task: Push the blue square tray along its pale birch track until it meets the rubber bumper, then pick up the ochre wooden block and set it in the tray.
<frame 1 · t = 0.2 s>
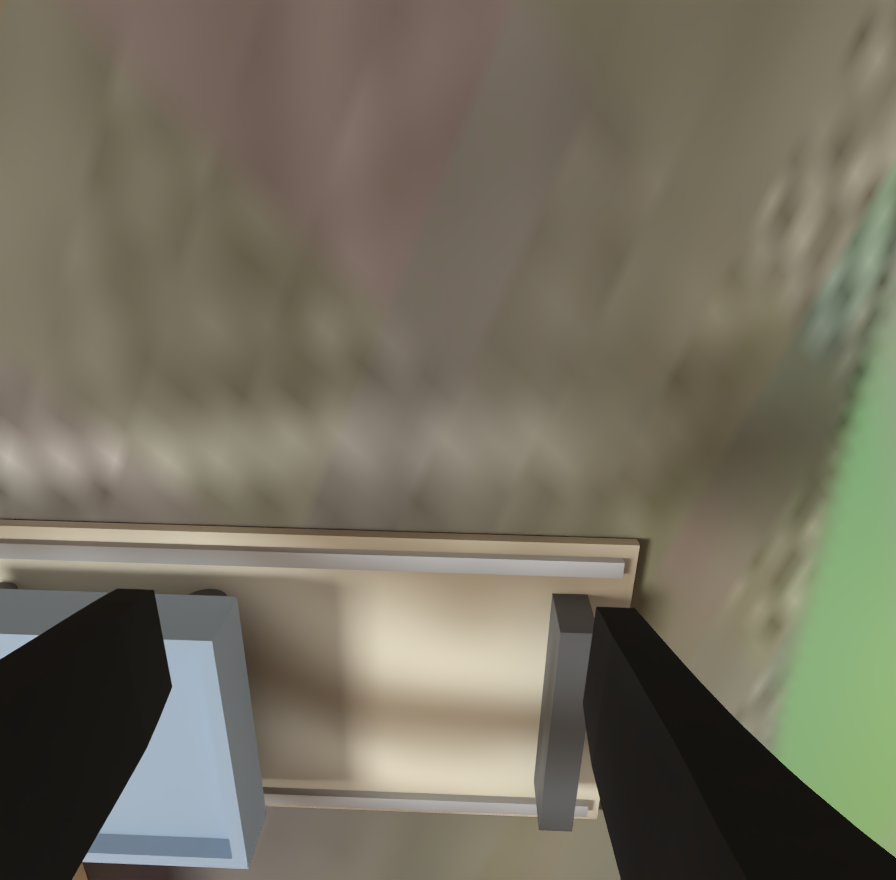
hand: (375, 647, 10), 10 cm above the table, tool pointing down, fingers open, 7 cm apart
blue square tray: (106, 718, 22), point 2 cm above the table, slide at 10.0 cm
cart track: (281, 677, 24), on the table
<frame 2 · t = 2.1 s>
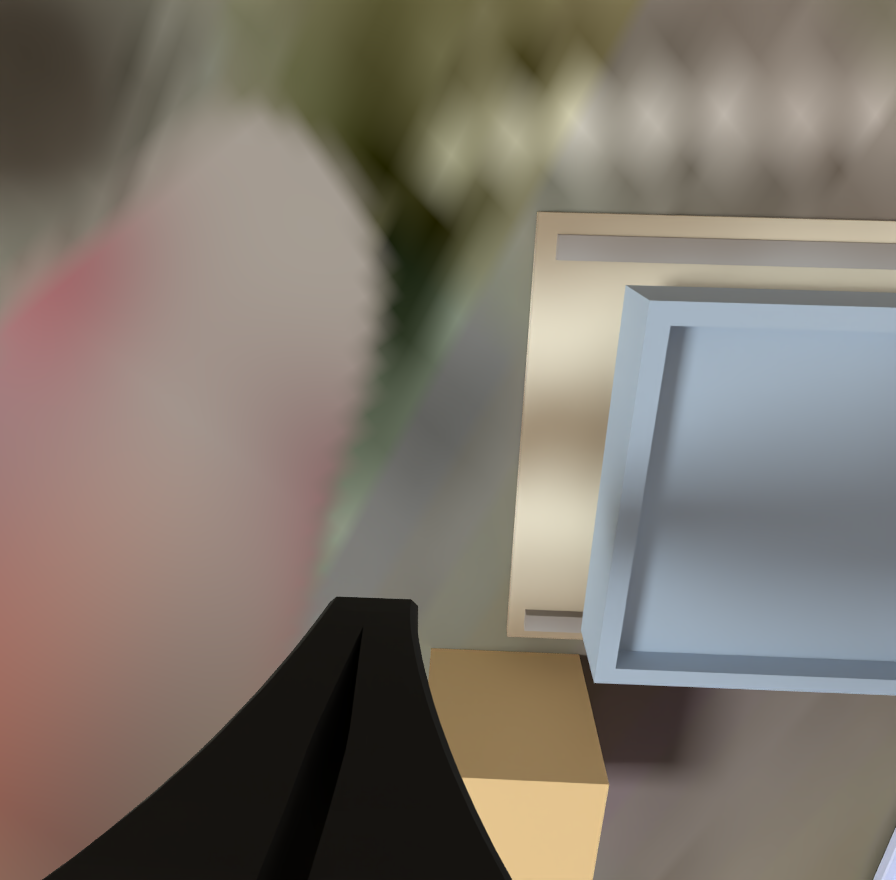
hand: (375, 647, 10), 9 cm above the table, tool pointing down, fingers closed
blue square tray: (798, 491, 16), point 2 cm above the table, slide at 10.0 cm
ochre block: (500, 705, 22), on the table
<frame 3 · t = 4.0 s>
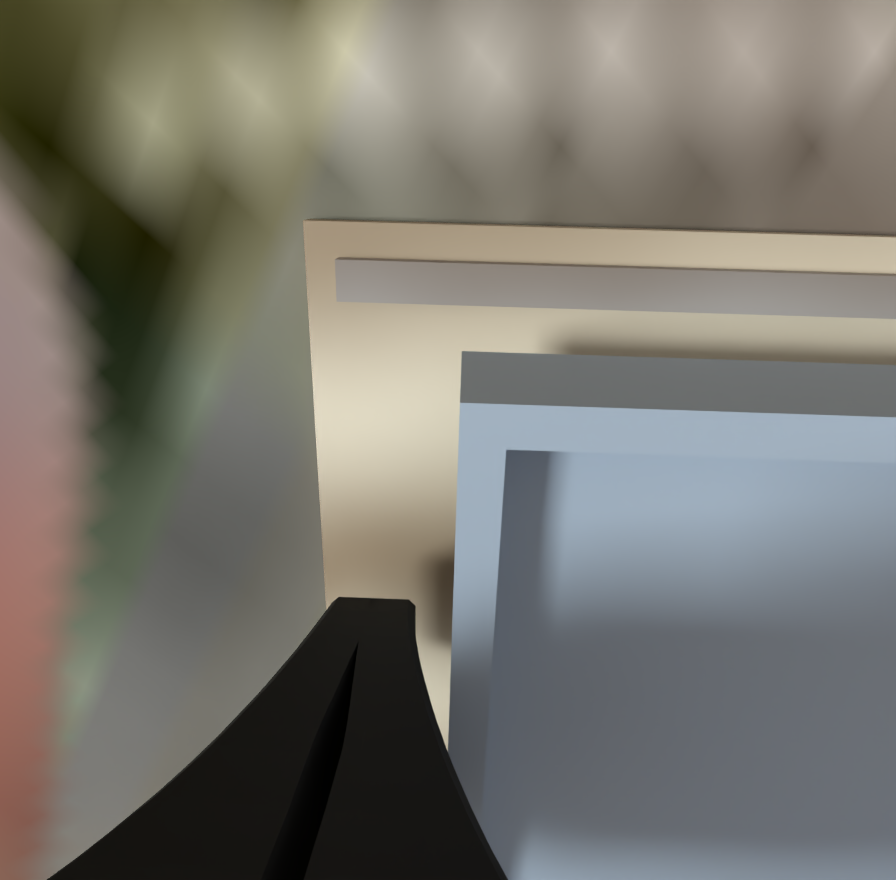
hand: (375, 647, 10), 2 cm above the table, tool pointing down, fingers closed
blue square tray: (770, 681, 10), point 2 cm above the table, slide at 9.6 cm, touching gripper
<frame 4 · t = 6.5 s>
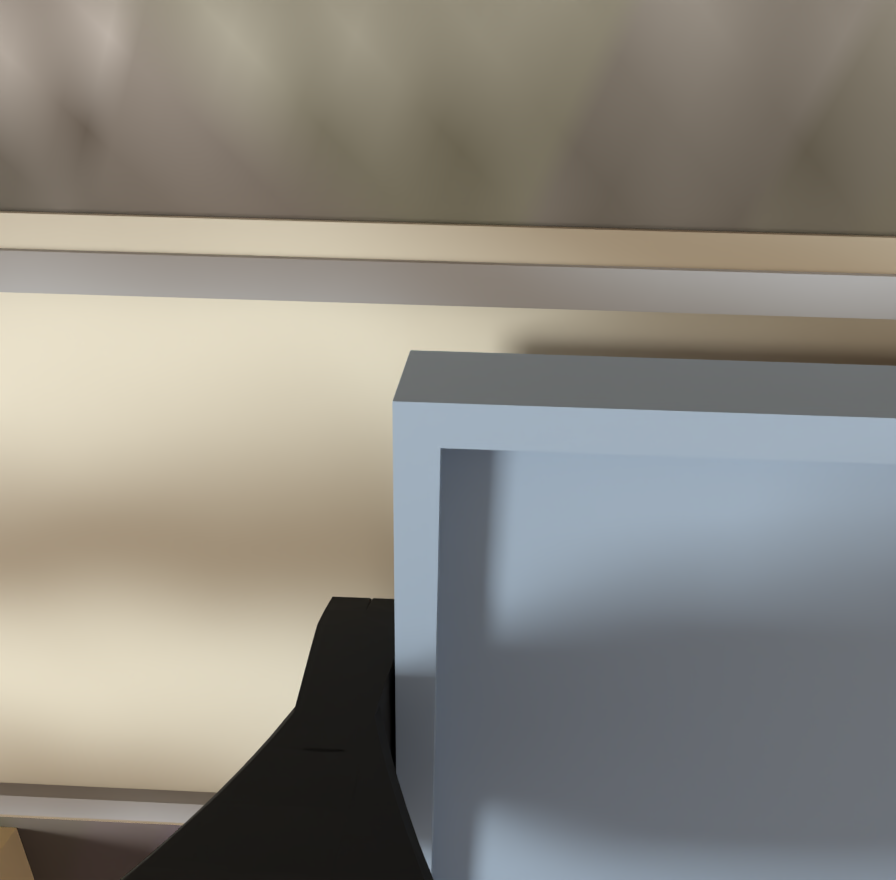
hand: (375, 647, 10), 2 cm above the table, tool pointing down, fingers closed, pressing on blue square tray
blue square tray: (727, 680, 10), point 2 cm above the table, slide at -0.1 cm, touching gripper
cart track: (436, 584, 12), on the table
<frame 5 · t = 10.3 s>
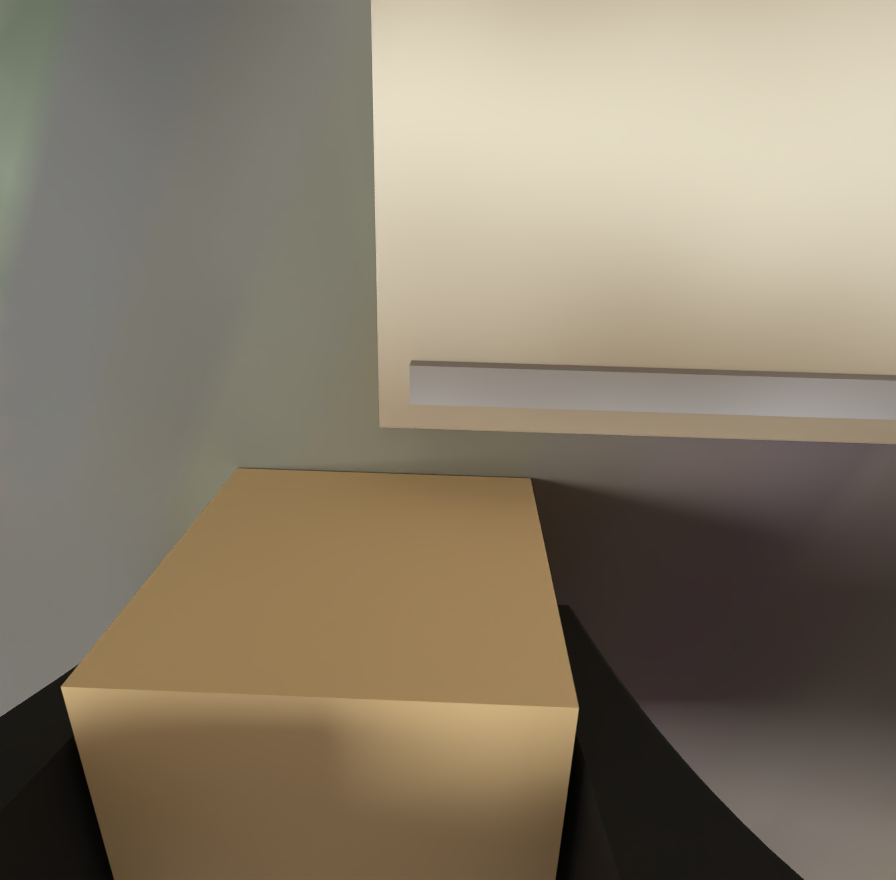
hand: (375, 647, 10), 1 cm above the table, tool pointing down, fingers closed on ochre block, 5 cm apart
ochre block: (385, 594, 12), on the table, touching gripper
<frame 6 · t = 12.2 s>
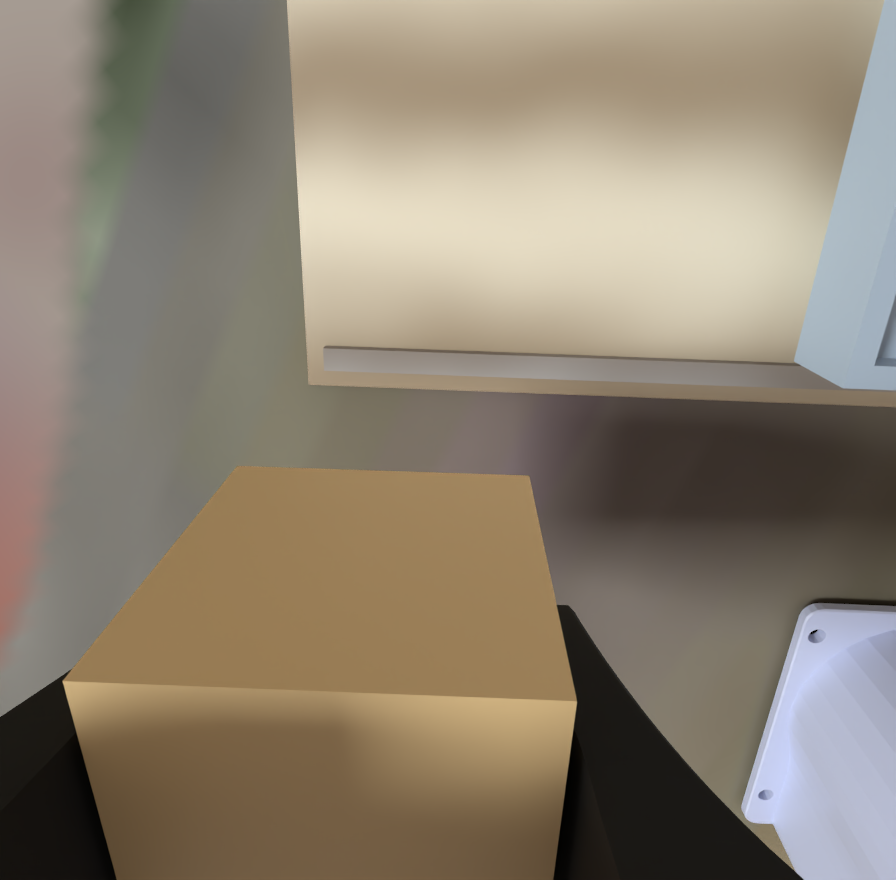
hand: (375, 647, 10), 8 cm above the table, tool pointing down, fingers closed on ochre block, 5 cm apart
ochre block: (384, 592, 12), point 7 cm above the table, touching gripper
cart track: (829, 134, 15), on the table
when the fingers open (6 cm above the table, at t = 14.3 s): ochre block drops 2 cm, resting on blue square tray.
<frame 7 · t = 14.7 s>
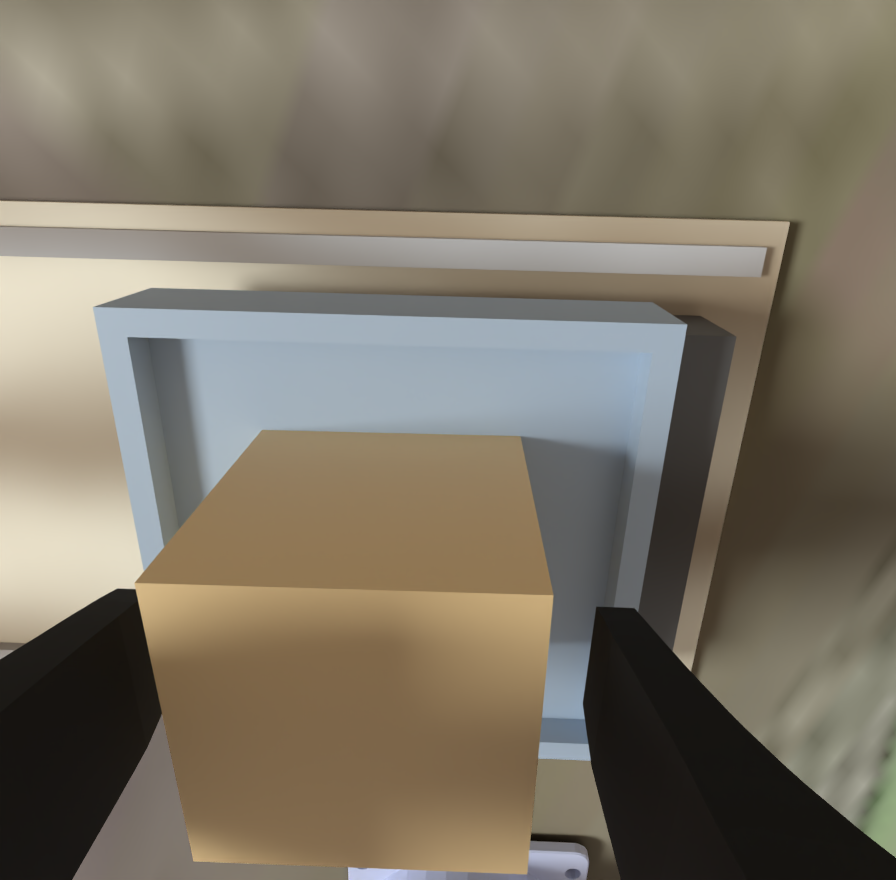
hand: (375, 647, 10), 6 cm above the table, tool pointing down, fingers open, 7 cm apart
blue square tray: (399, 524, 14), point 2 cm above the table, slide at 0.0 cm, touching ochre block
ochre block: (393, 544, 13), point 3 cm above the table, touching blue square tray
cart track: (234, 474, 16), on the table
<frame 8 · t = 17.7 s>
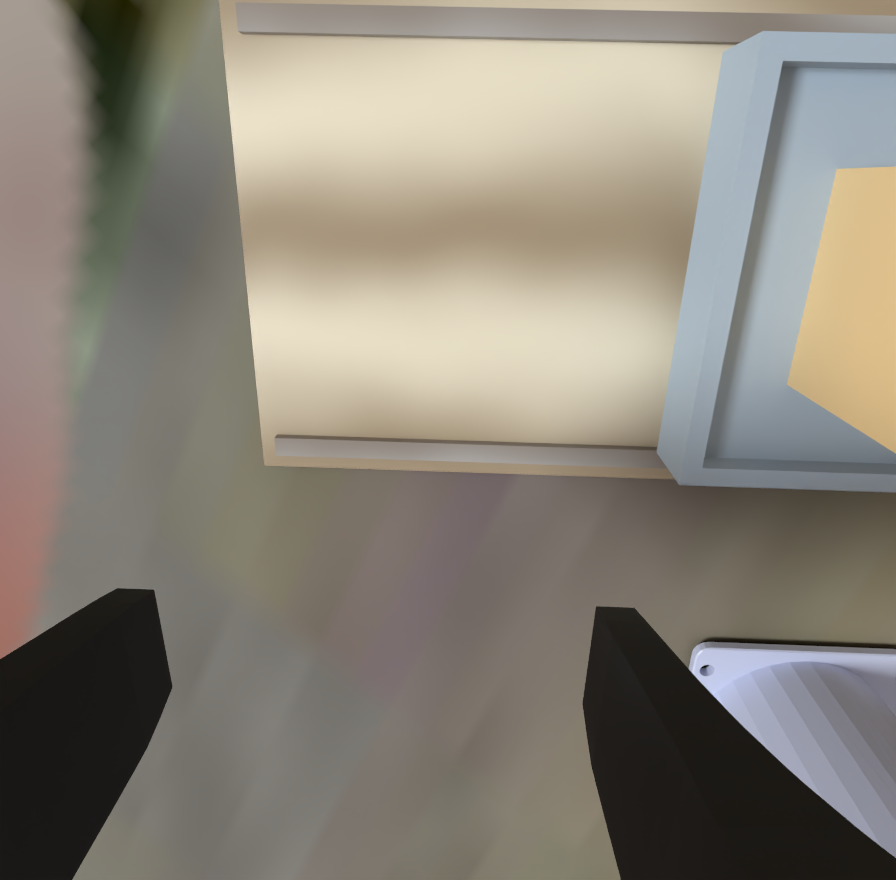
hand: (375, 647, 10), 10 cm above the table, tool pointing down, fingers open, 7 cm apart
blue square tray: (890, 283, 16), point 2 cm above the table, slide at 0.0 cm, touching ochre block
cart track: (683, 267, 18), on the table
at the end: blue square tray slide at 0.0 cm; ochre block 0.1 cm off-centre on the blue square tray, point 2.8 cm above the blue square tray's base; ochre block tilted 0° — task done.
